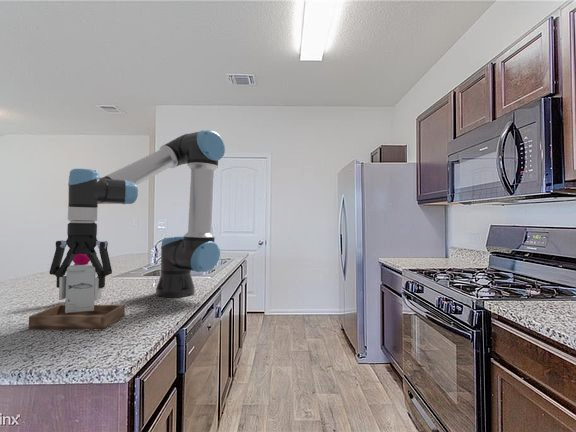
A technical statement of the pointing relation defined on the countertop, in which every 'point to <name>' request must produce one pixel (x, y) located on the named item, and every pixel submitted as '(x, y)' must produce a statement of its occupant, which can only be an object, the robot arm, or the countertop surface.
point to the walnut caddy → (76, 318)
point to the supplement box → (80, 288)
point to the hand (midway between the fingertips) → (80, 299)
